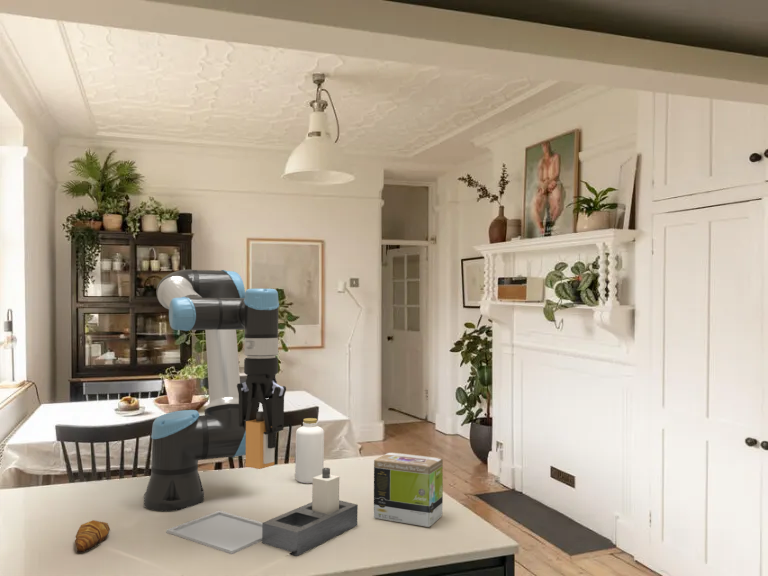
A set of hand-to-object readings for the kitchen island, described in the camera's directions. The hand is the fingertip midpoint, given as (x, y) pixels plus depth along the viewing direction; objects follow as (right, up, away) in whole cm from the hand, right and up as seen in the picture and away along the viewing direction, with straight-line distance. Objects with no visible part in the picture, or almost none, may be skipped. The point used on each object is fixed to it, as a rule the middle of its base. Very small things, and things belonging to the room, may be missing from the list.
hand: (260, 460), depth 144 cm
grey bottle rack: (+11, -18, +3) cm, 21 cm away
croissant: (-37, -18, -3) cm, 41 cm away
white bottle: (+6, -18, +46) cm, 50 cm away
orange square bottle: (0, -1, 0) cm, 1 cm away
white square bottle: (+14, -16, +7) cm, 22 cm away
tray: (-9, -18, +3) cm, 20 cm away
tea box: (+34, -19, +16) cm, 42 cm away
